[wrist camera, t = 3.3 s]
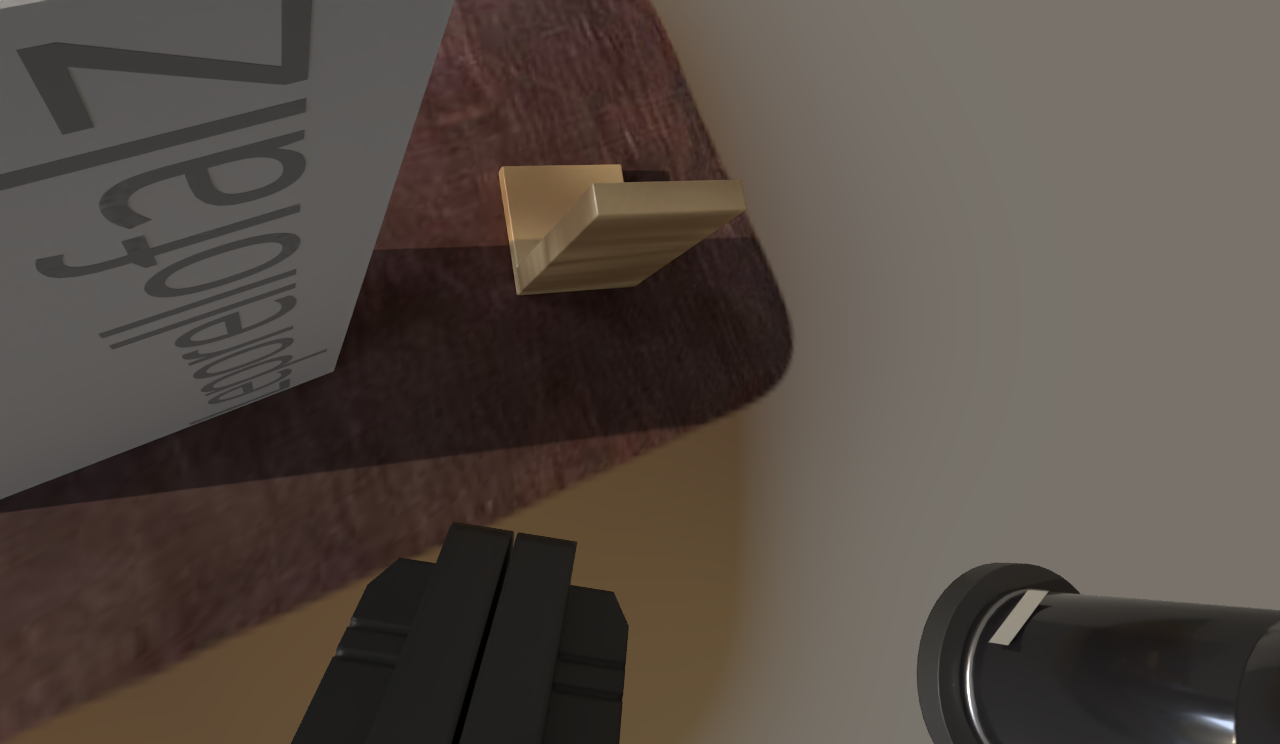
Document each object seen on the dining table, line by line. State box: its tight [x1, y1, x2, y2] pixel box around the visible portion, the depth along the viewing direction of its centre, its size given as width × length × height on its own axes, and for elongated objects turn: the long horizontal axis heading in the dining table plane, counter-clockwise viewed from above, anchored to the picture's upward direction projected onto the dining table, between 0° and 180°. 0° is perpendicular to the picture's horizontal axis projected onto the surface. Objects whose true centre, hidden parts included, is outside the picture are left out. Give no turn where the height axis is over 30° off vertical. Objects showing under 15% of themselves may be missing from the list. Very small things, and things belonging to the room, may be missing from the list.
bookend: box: [499, 165, 747, 295], centre depth 37 cm, size 6×6×11 cm
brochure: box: [0, 0, 455, 499], centre depth 21 cm, size 14×6×30 cm, turn 116°
